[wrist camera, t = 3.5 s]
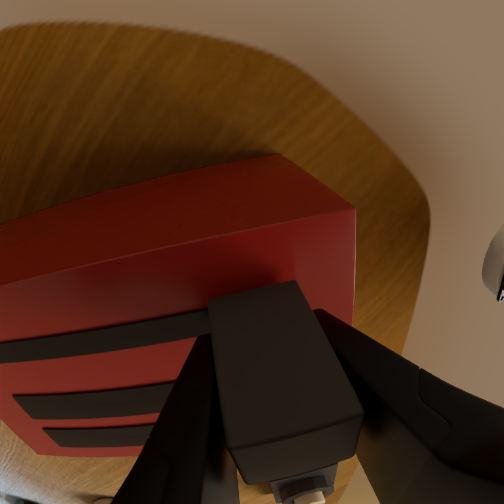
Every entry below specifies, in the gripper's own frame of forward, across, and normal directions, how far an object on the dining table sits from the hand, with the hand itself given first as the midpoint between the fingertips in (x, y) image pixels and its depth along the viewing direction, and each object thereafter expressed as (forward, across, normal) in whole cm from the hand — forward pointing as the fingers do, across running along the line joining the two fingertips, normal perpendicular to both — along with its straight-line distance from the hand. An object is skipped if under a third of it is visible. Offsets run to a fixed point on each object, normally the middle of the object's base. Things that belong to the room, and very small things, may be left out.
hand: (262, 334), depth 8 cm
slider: (+1, 0, 0) cm, 1 cm away
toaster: (+9, +5, +2) cm, 11 cm away
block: (+9, -3, +36) cm, 37 cm away
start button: (+6, -3, +35) cm, 36 cm away
